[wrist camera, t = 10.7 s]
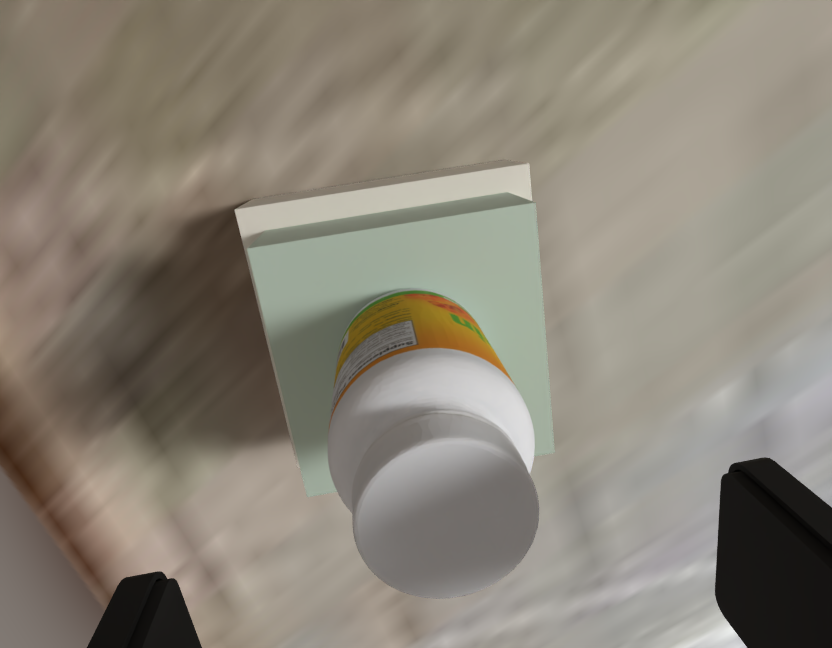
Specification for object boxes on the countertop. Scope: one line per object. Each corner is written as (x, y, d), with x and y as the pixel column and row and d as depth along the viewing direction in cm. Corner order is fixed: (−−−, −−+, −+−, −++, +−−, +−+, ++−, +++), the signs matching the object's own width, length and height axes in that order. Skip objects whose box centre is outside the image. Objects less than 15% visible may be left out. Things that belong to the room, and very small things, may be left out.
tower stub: (252, 199, 27) (209, 223, 19) (505, 159, 27) (562, 168, 20) (305, 426, 30) (287, 522, 23) (526, 388, 31) (580, 469, 23)
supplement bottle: (510, 372, 22) (617, 545, 13) (392, 446, 22) (412, 664, 13) (433, 255, 20) (492, 356, 11) (307, 339, 21) (263, 502, 11)
